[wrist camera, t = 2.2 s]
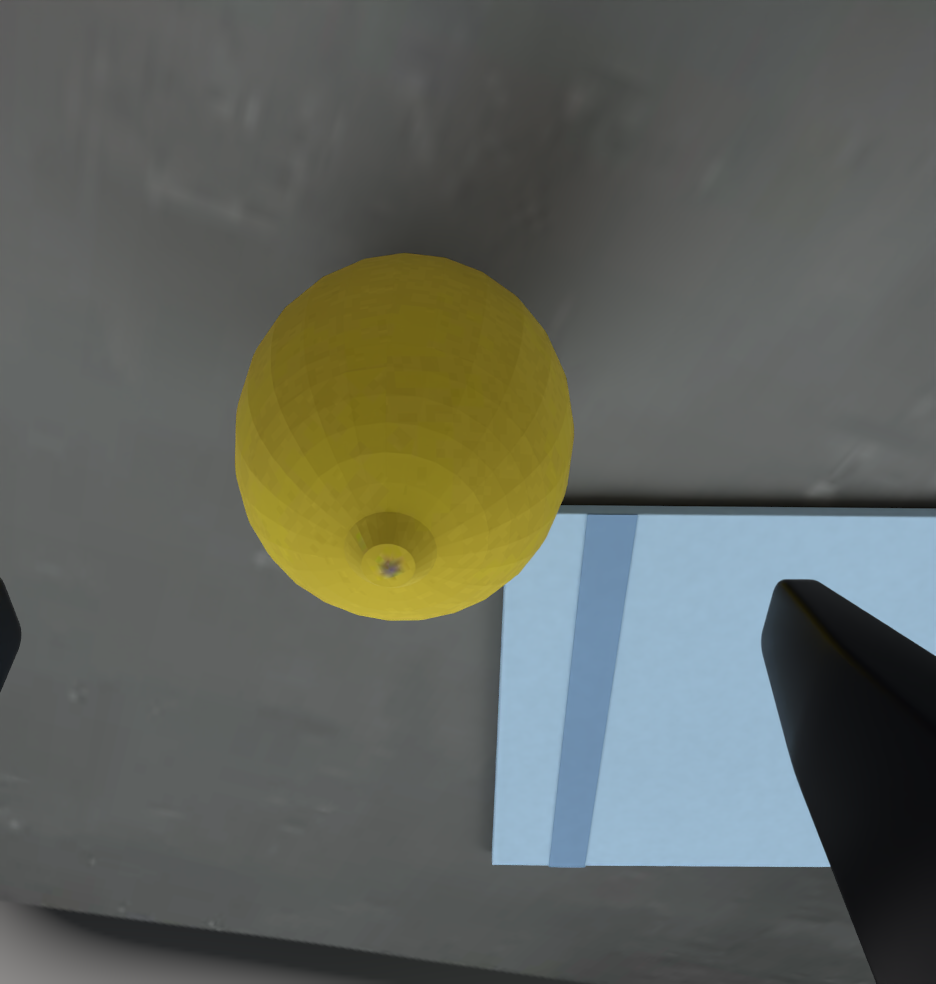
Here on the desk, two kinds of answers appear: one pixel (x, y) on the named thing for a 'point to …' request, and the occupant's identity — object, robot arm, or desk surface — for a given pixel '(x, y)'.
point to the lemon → (404, 437)
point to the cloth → (676, 678)
